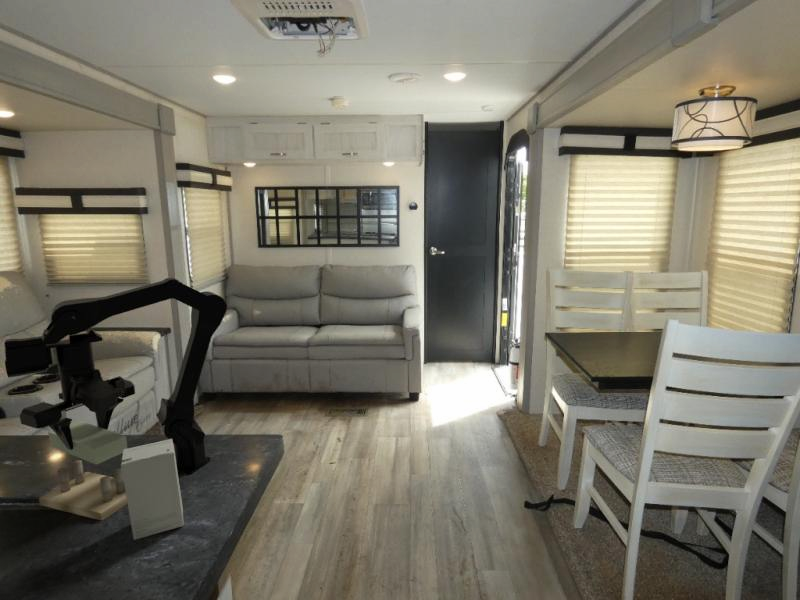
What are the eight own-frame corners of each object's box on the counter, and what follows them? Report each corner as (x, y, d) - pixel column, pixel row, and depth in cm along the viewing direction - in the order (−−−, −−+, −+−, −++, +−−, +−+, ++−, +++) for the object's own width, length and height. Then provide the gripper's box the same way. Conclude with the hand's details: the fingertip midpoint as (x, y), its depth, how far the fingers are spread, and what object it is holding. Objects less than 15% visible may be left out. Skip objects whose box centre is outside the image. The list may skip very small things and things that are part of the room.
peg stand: (146, 490, 97) (143, 463, 96) (102, 520, 87) (97, 490, 86) (87, 478, 102) (84, 452, 101) (40, 505, 93) (35, 476, 91)
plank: (50, 446, 96) (48, 432, 95) (81, 433, 101) (79, 420, 101) (96, 464, 88) (94, 449, 88) (127, 450, 93) (125, 436, 93)
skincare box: (182, 510, 90) (175, 436, 88) (184, 528, 85) (176, 450, 82) (132, 522, 87) (122, 446, 84) (130, 542, 81) (120, 462, 79)
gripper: (48, 388, 80) (62, 474, 83) (148, 357, 97) (157, 430, 99) (12, 379, 85) (25, 460, 88) (113, 351, 101) (122, 421, 104)
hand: (87, 442), depth 94 cm, fingers closed on plank, 6 cm apart
